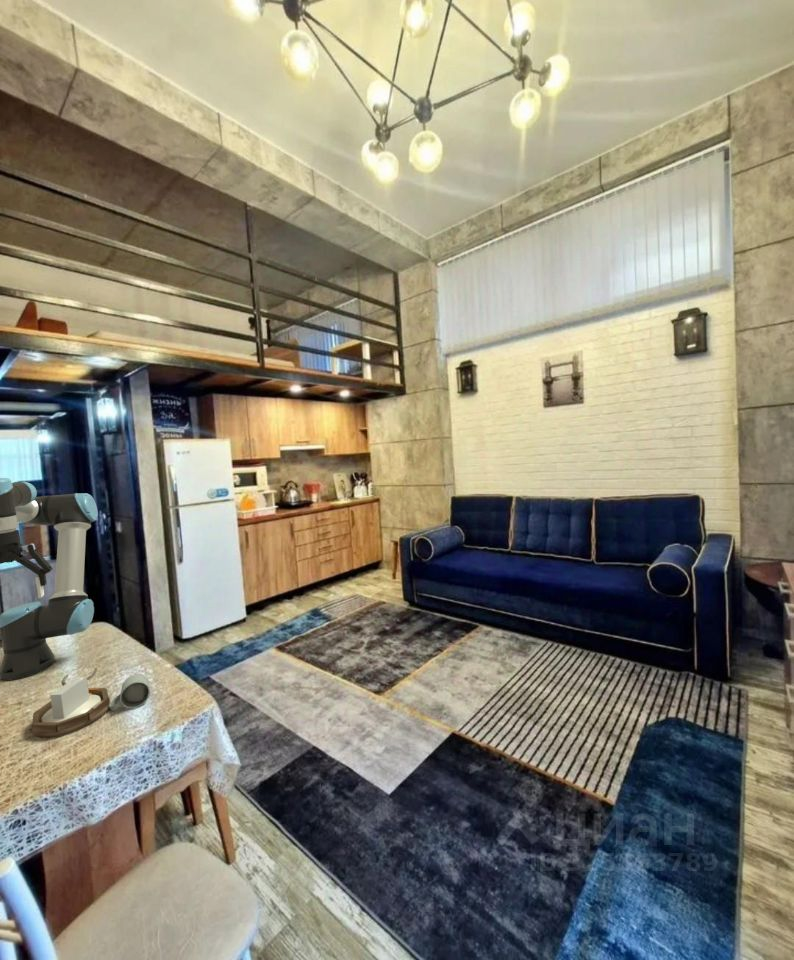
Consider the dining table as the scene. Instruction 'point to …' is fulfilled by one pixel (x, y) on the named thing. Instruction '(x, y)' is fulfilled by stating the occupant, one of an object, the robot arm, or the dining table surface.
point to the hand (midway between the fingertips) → (12, 601)
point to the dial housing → (73, 723)
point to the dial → (70, 701)
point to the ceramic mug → (132, 692)
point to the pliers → (87, 678)
